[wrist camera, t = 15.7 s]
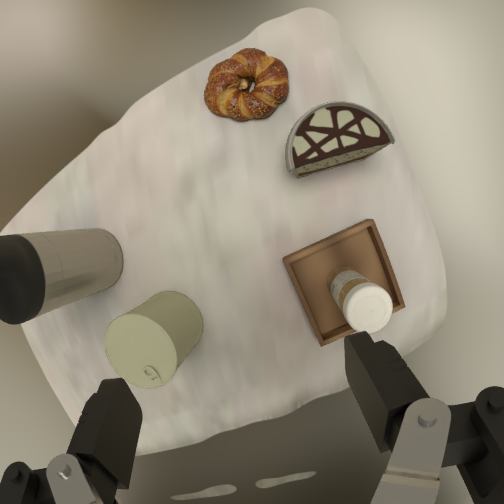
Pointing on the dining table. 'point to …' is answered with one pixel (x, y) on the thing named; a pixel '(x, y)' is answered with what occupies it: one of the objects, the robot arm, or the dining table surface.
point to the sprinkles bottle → (360, 300)
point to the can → (153, 339)
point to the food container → (334, 137)
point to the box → (326, 261)
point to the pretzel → (247, 85)
